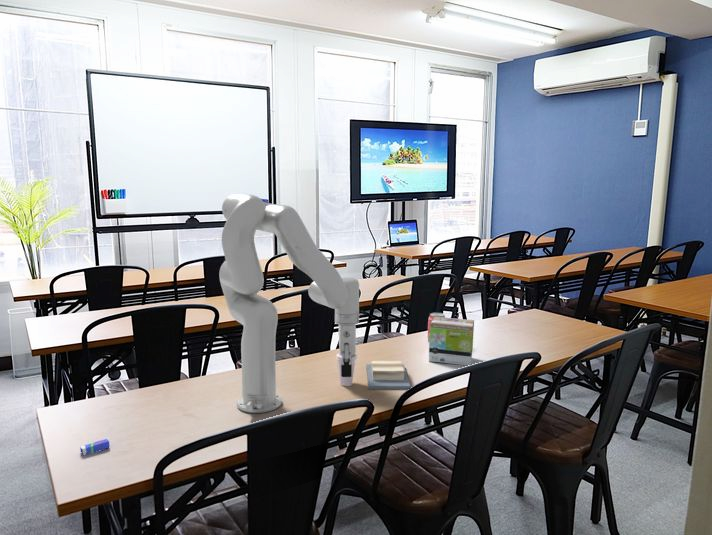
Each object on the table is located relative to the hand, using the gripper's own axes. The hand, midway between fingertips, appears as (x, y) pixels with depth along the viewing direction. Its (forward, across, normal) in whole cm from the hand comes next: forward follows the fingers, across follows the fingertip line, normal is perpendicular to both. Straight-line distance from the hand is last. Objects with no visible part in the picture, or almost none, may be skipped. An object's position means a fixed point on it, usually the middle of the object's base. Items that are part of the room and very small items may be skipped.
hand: (346, 372), depth 171 cm
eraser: (+4, -43, +60) cm, 74 cm away
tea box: (+4, +24, -38) cm, 45 cm away
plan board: (+4, +6, -14) cm, 15 cm away
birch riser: (+4, +6, -14) cm, 15 cm away
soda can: (+4, +44, -36) cm, 57 cm away
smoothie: (+4, 0, 0) cm, 4 cm away
